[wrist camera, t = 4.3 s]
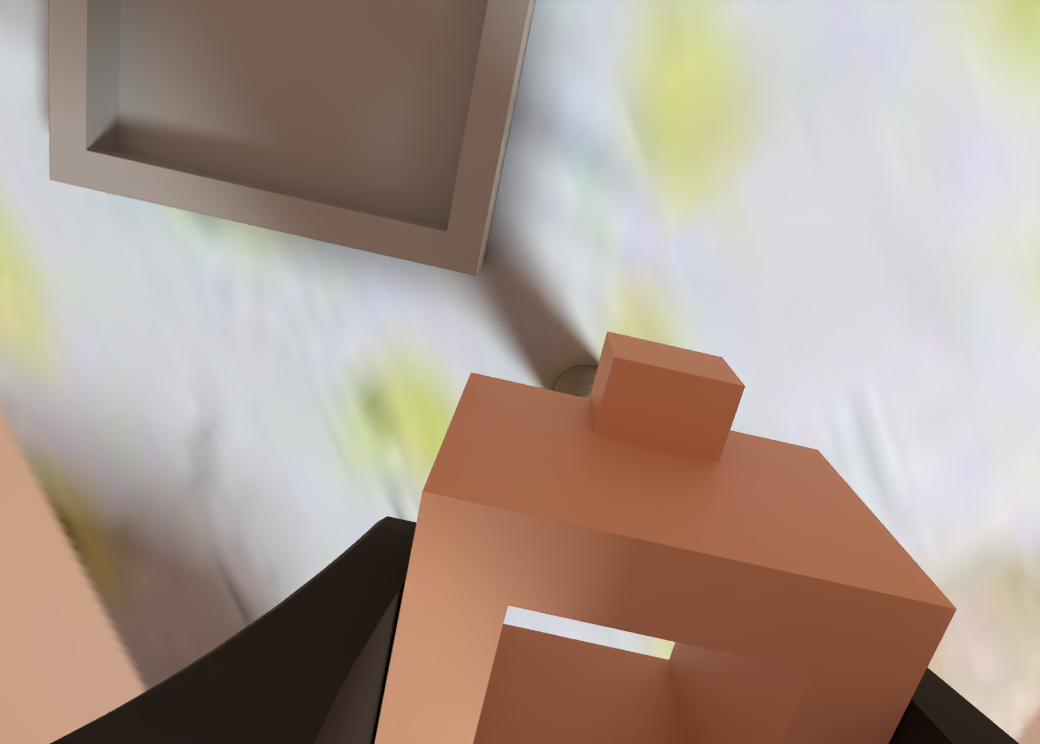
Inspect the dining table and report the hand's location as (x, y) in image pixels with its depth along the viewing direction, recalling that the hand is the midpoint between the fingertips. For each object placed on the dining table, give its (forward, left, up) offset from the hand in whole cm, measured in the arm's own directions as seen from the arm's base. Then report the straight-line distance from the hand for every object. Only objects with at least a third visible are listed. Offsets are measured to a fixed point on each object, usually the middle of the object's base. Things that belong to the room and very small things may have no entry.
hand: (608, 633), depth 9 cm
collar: (0, 0, -2) cm, 2 cm away
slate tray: (+8, +8, -9) cm, 14 cm away
